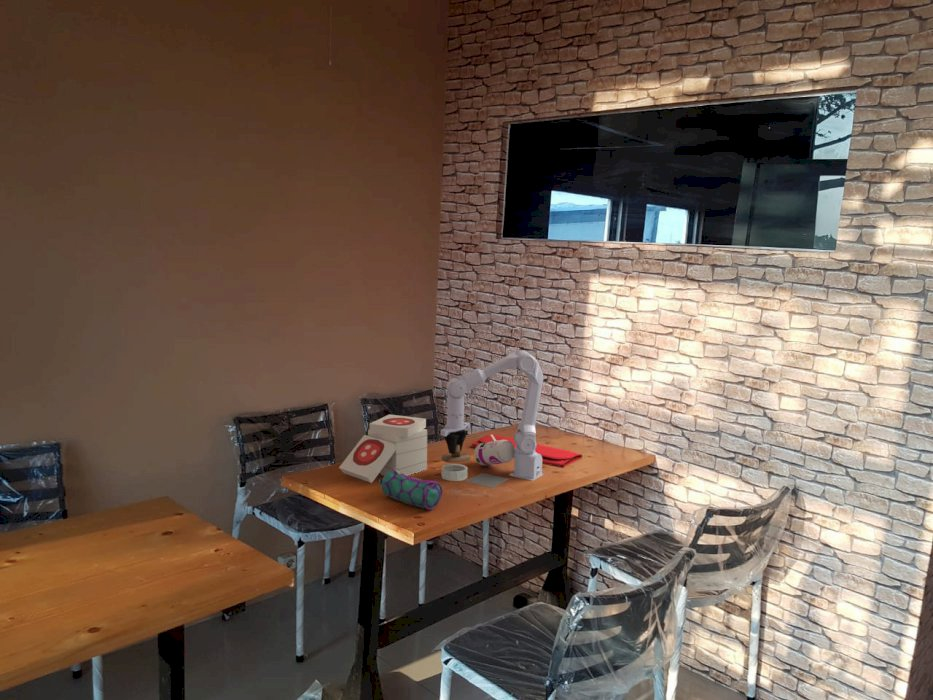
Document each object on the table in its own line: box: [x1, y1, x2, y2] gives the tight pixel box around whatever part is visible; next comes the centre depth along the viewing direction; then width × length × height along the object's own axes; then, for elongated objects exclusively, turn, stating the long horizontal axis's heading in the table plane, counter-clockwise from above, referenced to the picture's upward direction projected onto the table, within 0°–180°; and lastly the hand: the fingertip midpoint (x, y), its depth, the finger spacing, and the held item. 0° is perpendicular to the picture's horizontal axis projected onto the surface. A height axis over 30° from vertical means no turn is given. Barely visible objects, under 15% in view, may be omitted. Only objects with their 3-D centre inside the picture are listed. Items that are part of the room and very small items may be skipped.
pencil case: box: [377, 468, 443, 511], centre depth 229 cm, size 21×9×10 cm, turn 49°
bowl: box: [441, 463, 469, 482], centre depth 253 cm, size 9×9×4 cm
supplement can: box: [474, 440, 515, 467], centre depth 262 cm, size 8×8×15 cm
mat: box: [465, 472, 510, 489], centre depth 250 cm, size 11×11×1 cm
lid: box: [440, 444, 471, 464], centre depth 252 cm, size 10×10×5 cm
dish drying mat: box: [471, 433, 583, 468], centre depth 284 cm, size 16×41×4 cm, turn 55°
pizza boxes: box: [338, 413, 428, 484], centre depth 255 cm, size 19×30×18 cm, turn 138°
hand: (455, 452), depth 252 cm, fingers closed on lid, 3 cm apart
